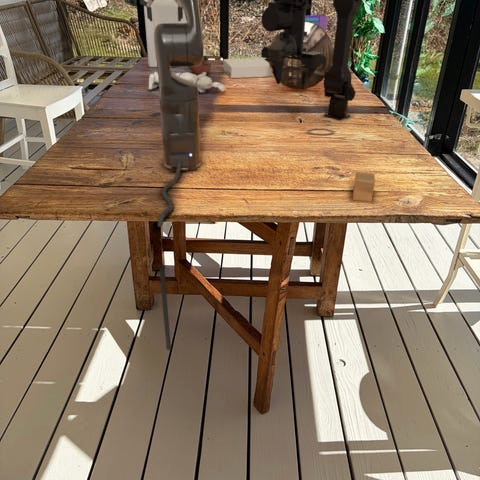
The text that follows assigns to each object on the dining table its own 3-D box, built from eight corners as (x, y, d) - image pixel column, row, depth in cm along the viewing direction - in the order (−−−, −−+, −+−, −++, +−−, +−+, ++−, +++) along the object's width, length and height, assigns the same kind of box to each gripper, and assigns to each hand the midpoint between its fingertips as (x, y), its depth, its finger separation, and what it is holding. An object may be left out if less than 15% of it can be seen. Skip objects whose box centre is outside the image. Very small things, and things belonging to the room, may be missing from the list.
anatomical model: (204, 86, 208) (191, 72, 218) (219, 73, 207) (206, 59, 217) (188, 66, 199) (175, 52, 208) (204, 52, 198) (190, 38, 207)
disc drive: (281, 76, 210) (281, 64, 208) (231, 78, 206) (231, 66, 203) (269, 68, 225) (270, 57, 222) (223, 70, 220) (223, 58, 218)
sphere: (332, 84, 199) (340, 18, 186) (325, 99, 179) (333, 26, 166) (274, 79, 205) (277, 15, 192) (260, 93, 184) (263, 23, 171)
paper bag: (192, 61, 237) (190, -2, 222) (188, 67, 224) (186, 1, 210) (154, 60, 237) (149, -3, 223) (148, 66, 225) (143, 0, 210)
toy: (168, 102, 172) (167, 83, 168) (144, 87, 190) (143, 69, 186) (228, 94, 182) (228, 76, 179) (199, 80, 201) (199, 63, 197)
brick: (352, 190, 110) (355, 171, 108) (371, 192, 109) (374, 173, 107) (352, 199, 106) (355, 180, 104) (371, 201, 105) (374, 182, 103)
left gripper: (136, -42, 132) (141, 22, 140) (187, -41, 134) (190, 22, 143) (136, -42, 138) (141, 19, 147) (185, -41, 141) (187, 19, 149)
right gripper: (248, 27, 129) (247, 86, 137) (303, 35, 118) (298, 98, 126) (275, 23, 136) (272, 79, 144) (329, 30, 125) (323, 90, 133)
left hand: (165, 20), depth 145 cm, fingers open, 8 cm apart
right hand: (290, 86), depth 137 cm, fingers open, 9 cm apart
